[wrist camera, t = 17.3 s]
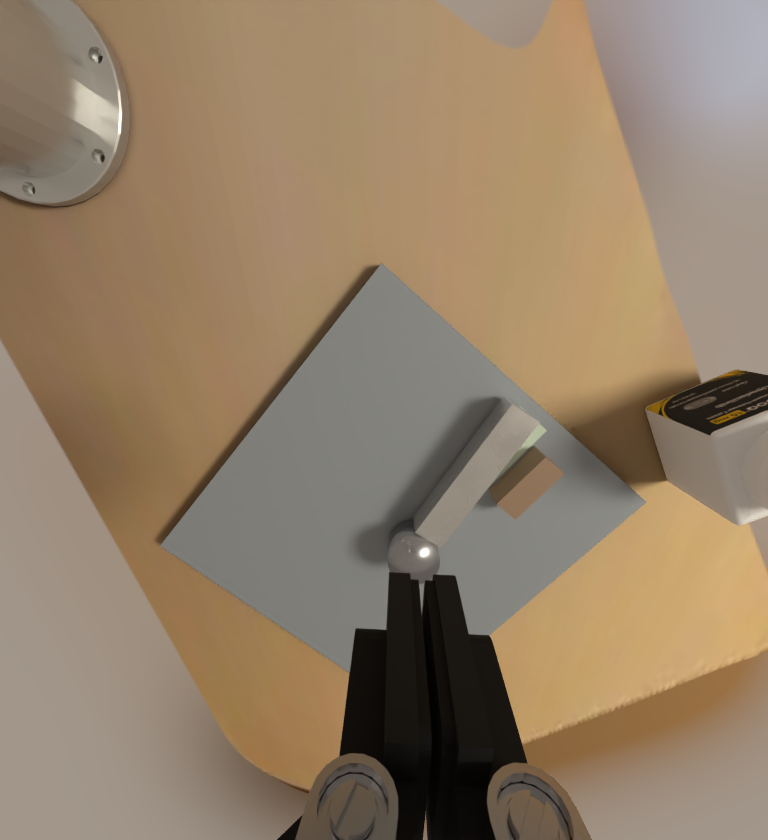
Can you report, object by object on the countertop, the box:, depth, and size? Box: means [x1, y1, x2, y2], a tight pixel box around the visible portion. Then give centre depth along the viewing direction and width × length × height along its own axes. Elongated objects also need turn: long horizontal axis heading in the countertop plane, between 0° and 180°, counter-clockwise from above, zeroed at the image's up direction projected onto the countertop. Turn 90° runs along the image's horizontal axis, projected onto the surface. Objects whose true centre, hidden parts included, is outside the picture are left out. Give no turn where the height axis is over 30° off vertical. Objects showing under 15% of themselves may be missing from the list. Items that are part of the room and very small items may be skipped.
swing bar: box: [388, 397, 540, 585], centre depth 30 cm, size 16×4×3 cm, turn 148°
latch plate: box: [160, 263, 646, 673], centre depth 32 cm, size 28×30×4 cm
